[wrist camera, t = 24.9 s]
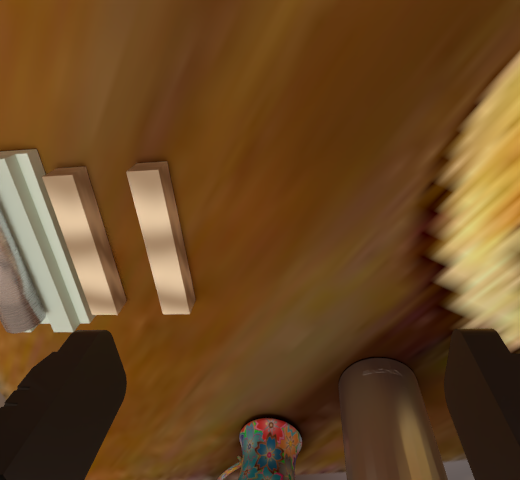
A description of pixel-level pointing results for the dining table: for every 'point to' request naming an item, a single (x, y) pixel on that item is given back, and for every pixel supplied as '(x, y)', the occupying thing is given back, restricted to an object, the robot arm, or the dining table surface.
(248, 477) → the mug
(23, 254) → the grooved block
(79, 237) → the wooden blocks
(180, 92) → the dining table surface
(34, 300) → the axle
